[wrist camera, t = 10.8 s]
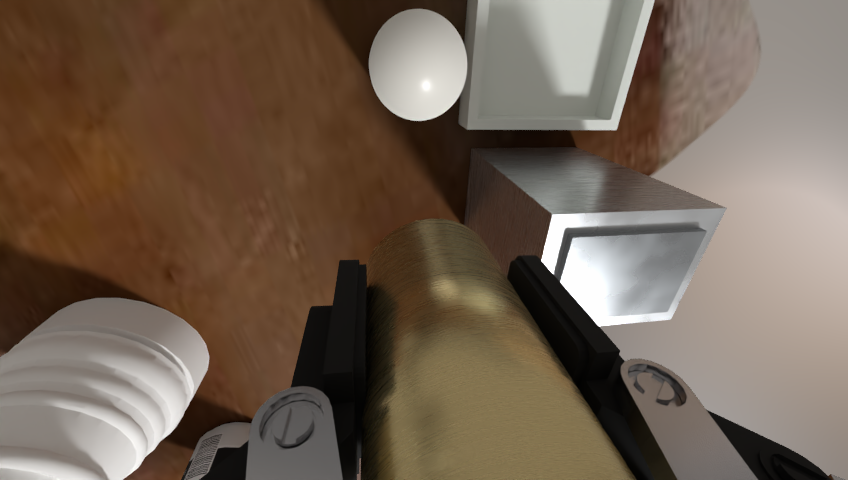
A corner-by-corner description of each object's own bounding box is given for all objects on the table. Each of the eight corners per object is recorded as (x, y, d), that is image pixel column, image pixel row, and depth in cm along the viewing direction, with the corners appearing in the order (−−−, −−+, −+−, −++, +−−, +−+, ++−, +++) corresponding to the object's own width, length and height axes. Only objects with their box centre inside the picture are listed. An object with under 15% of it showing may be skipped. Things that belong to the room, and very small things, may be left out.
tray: (473, -79, 19) (486, -97, 17) (645, -62, 21) (677, -77, 19) (458, 123, 25) (466, 129, 23) (595, 124, 26) (616, 130, 24)
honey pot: (116, 413, 33) (-105, 724, 18) (2, 326, 27) (-504, 690, 11) (236, 374, 33) (119, 652, 18) (149, 277, 27) (-155, 577, 11)
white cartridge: (366, 26, 21) (366, 5, 13) (434, 30, 22) (471, 11, 14) (370, 101, 23) (371, 120, 15) (431, 101, 24) (463, 121, 16)
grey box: (471, 147, 26) (557, 218, 14) (576, 147, 27) (734, 211, 15) (463, 231, 29) (526, 343, 18) (556, 227, 31) (673, 329, 19)
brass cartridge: (363, 219, 10) (337, 808, 2) (501, 217, 11) (875, 657, 3) (366, 329, 12) (361, 831, 4) (482, 322, 13) (665, 743, 5)
